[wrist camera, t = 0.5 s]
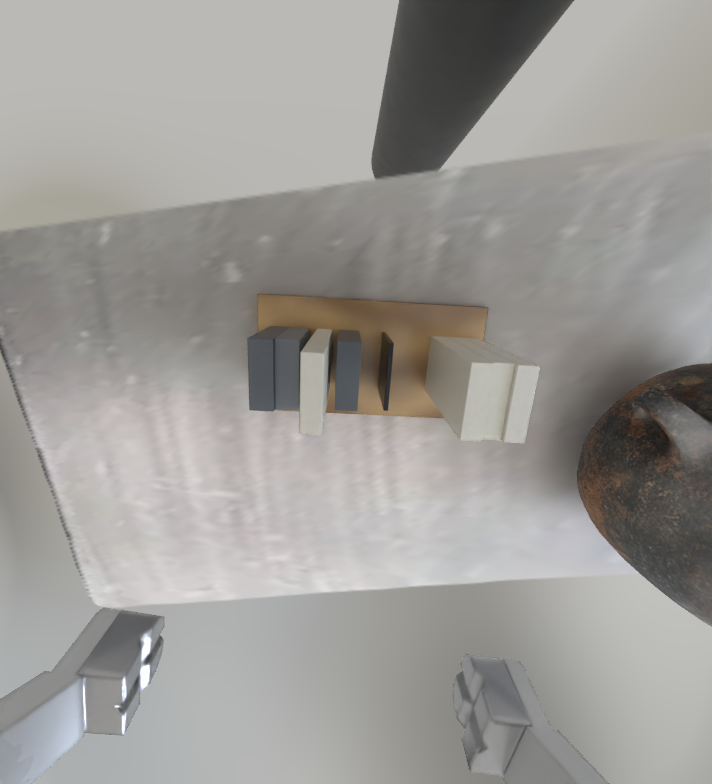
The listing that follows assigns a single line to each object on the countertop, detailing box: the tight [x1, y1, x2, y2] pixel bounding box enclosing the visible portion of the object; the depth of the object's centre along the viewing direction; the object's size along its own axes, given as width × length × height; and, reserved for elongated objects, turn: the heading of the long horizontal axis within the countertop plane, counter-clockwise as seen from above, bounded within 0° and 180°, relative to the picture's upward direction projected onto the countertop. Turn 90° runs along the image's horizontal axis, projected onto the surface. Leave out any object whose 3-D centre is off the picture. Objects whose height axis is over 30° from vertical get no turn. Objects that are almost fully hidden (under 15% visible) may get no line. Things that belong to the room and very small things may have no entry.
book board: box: [258, 294, 488, 418], centre depth 38 cm, size 12×23×1 cm, turn 87°
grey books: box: [248, 326, 362, 411], centre depth 33 cm, size 6×9×8 cm, turn 87°
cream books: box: [425, 336, 540, 443], centre depth 32 cm, size 6×5×13 cm
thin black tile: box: [378, 332, 394, 411], centre depth 34 cm, size 6×1×7 cm, turn 177°
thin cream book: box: [299, 329, 333, 435], centre depth 31 cm, size 6×2×13 cm, turn 177°
